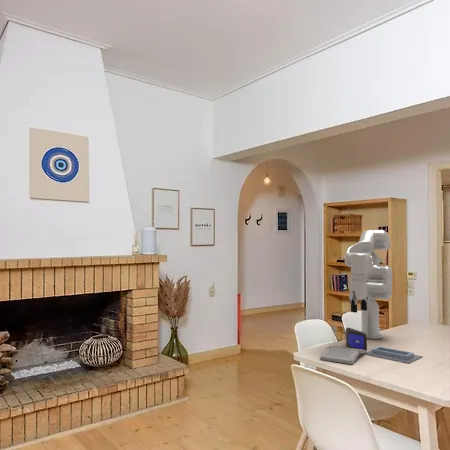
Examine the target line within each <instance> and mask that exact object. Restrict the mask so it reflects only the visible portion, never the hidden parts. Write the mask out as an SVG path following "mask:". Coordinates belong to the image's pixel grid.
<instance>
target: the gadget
mask: <svg viewBox="0 0 450 450" xmlns="http://www.w3.org/2000/svg"><path fill="white" fill-rule="evenodd" d="M366 352H367V350H362V349H354V348H349V347H347V346H345V347H344V346H339V345H337V346H336V345H329V346H328V347H327V348H326V349H325V350H324V352H323V353H322V354H321V355H320V356H319V357H320V358H319V359H320V360H321V361H322V360H323V361H328V362H329V361H330V362H336V363H341V364H347V365H348V364H349V365H354V363H355V361H356V360H357V359H358V357H359V355H360V354H363V353H366Z"/></svg>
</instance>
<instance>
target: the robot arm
mask: <svg viewBox="0 0 450 450" xmlns="http://www.w3.org/2000/svg"><path fill="white" fill-rule="evenodd" d="M391 243H392V241H391V237H390V236H389V234H388V232H387V231H385V230H384V229H366V230H364V231H362V233H361V235H360V238H359V240H358V242H356V243H354V244H353V245H351V246H349V247H348V248H347V250H346V251H345V252H346V253H345V255H344V264H345V265H346V266H347V267H350V283H349V294H348V298H349V299H348V300H349V303H350V312H351V313H358V304H357V303H358V301H360V310H361V332H364V333H365V334H366V335H367V339H373V340H378V339H382V338H383V335H382V334H380V332H381V331H382V328H380V306H379V304H378V302H377V301H376V299H377V300H378V299H379V300H389V299H391V297H392V293H393V269H392V267H391V266H390V265H385V264H380V261H381V259H380V256H379V255H378V254H377V252H375V250H378V251H379V250H383V251H384V250H389V249H390V248H391V246H392V245H391Z"/></svg>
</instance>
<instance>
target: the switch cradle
mask: <svg viewBox="0 0 450 450" xmlns="http://www.w3.org/2000/svg"><path fill="white" fill-rule="evenodd" d="M362 355H365V356H370V357H373V358H380V359H384V360H389V361H392V362H393V361H395V362H399V363H403V364H407V365H409V364H411V363H413V362H415V361H418V360H420V359H422V358H423V357H424V356H423V355H418V354H415V352H411V351H406V350H400V349H396V348H395V349H394V348H391V347H386V346H385V347H384V346H377V347H374V348H372V349H371V350H369V351H366V353H362Z"/></svg>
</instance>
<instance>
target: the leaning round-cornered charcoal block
mask: <svg viewBox="0 0 450 450" xmlns="http://www.w3.org/2000/svg"><path fill="white" fill-rule="evenodd" d="M345 347H347V348H354V349H362V350H366V351H367V350H368V338H367V335H366V334H365V333H364V332H362V330H357V329H354V328H351V327H346V328H345Z"/></svg>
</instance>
